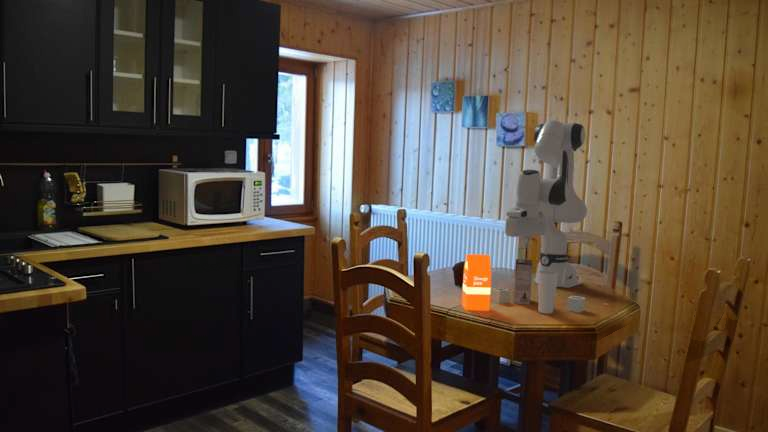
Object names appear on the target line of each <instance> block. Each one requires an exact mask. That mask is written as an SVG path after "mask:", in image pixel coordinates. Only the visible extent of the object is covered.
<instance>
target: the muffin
mask: <svg viewBox="0 0 768 432" xmlns="http://www.w3.org/2000/svg"><path fill="white" fill-rule="evenodd" d="M465 261H466V260H464V261H459V262H456V263H455V264H454V265H453V266H452V268H451V270H452V271H453V280H454V285H455V286H457V287H462V288H463V275H464V265H465Z"/></svg>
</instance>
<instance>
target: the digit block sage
mask: <svg viewBox="0 0 768 432" xmlns="http://www.w3.org/2000/svg"><path fill="white" fill-rule="evenodd" d="M510 297H511V290H510V289H506V288H505V287H504V288H503V287H496V288H495V287H494V288H493V287H491V291H490V302H493V303H496V304H499V305H501V304H510V299H511V298H510Z"/></svg>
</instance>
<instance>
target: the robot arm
mask: <svg viewBox="0 0 768 432" xmlns="http://www.w3.org/2000/svg"><path fill="white" fill-rule="evenodd" d="M585 140H586V130H585V127H584V126H583V125H582V124H581V123H577V122H574V123H572V122H571V123H570V122H561V121H559V120H555V119H552V120H548V121H546V122H544V123H540V124H538V125H537V126H536V127H535V128H534V131H533V141H534V153H535V155H536V157H537V158H538V160H540V161H541V162H542V163H544V164H547V174H546V175H547V176H546V178H541V172H540V171H539V170H536V169H524V170H521V171H520V173H519V174H518V175H519V176H518V179H517V180H518V181H517V186H516V187H517V189H516V194H517V199H516V203H515V206H514V207H512V208H510V209H508V210H506V216H507V218H506V220H505V227H504V228H505V229H504V230H505V232H504V233H505V235H506V236H507V237H512V238H514V237H515V238H517V237H518V239H519V242H520V248H522V249H523V248H529V247H530V243H531V241H532V239H533V237H534V236H540V237H541V238H540V239H541V242H540V243H541V246H540V247H541V248H540V252H539V256H538V257H539V262H538V264H537V268H536V273H535V275H536V276H535V277H534V278H533V280H534V282H535V284H537V285H538V275H539V271H553V272H557V287H556V288H565V289H566V288H567V289H569V288H570V289H571V288H573V287H576V286H578V285H582V284H583V281H582V280H579V279H578V271H577V269H576V268H575V267H574V266H573V265H572V264H571V263H570V261H569V260H570V259H572V258H573V254H572V253H567V249H568V236H567V234H565V232H563V231H562V230H560V229H558V227H556V224H555V223H563V224H575V223H576V224H577V223H581V222H583V221H584V220H585V218H586V217H587V213H588V207H587V205H586V203H585V202H584V201H583V200H582V199H581V197H579V196H578V195H577V193H576V191H575V188H574V168H575V153H574V152H576V151H577V150H578V149H580V148H582V146H583V144H584V142H585Z"/></svg>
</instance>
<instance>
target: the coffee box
mask: <svg viewBox="0 0 768 432" xmlns="http://www.w3.org/2000/svg"><path fill="white" fill-rule="evenodd" d="M532 277H533V260H532V259H523V258H522V259H520V258H519V259H517V258H516V259H515V267H514V282H513V283H514V286H513V304H518V305H530V304H531V291H532V290H531V289H532Z"/></svg>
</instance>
